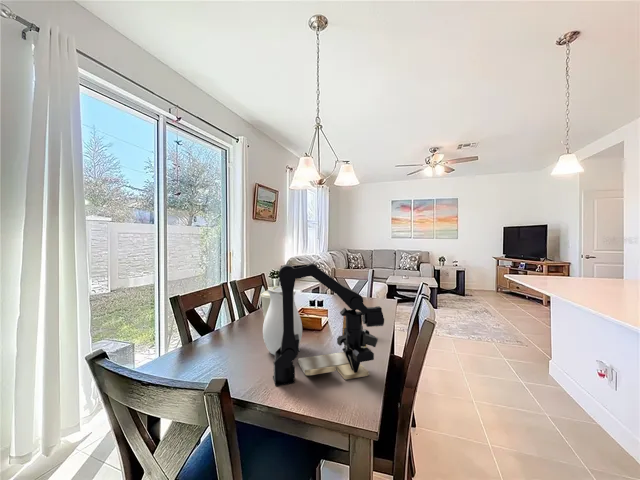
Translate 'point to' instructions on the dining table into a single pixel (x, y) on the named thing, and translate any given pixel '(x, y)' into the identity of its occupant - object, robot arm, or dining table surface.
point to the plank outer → (349, 373)
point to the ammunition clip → (345, 325)
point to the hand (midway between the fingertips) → (354, 371)
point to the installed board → (323, 361)
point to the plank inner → (320, 370)
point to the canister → (266, 300)
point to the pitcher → (278, 321)
